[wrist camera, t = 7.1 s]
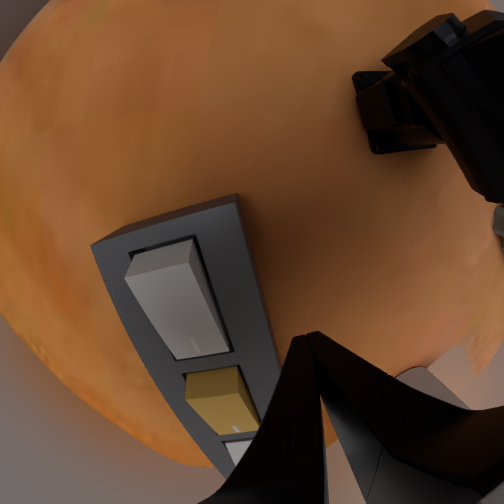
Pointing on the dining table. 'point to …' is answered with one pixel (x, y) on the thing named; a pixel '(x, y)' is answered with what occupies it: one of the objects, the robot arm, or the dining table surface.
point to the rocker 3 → (237, 448)
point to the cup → (429, 385)
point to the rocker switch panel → (229, 299)
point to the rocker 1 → (179, 300)
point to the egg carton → (499, 223)
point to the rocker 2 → (222, 400)
